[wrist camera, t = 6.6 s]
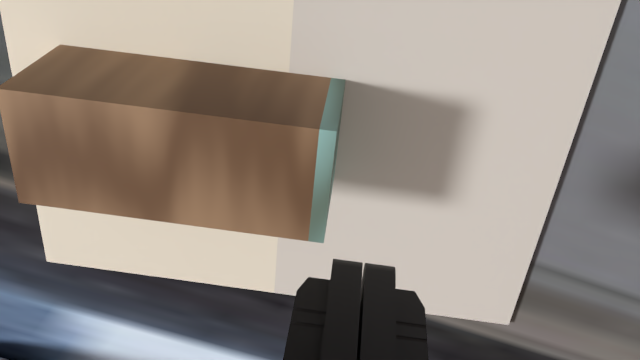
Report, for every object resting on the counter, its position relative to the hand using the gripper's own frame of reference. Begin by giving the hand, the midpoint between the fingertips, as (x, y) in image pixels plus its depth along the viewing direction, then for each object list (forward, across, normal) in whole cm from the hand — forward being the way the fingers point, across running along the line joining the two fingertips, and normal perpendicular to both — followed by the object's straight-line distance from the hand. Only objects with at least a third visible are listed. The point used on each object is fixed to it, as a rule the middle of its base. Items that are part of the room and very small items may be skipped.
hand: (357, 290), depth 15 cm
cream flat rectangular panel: (+8, +3, 0) cm, 9 cm away
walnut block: (+6, +1, 0) cm, 6 cm away
